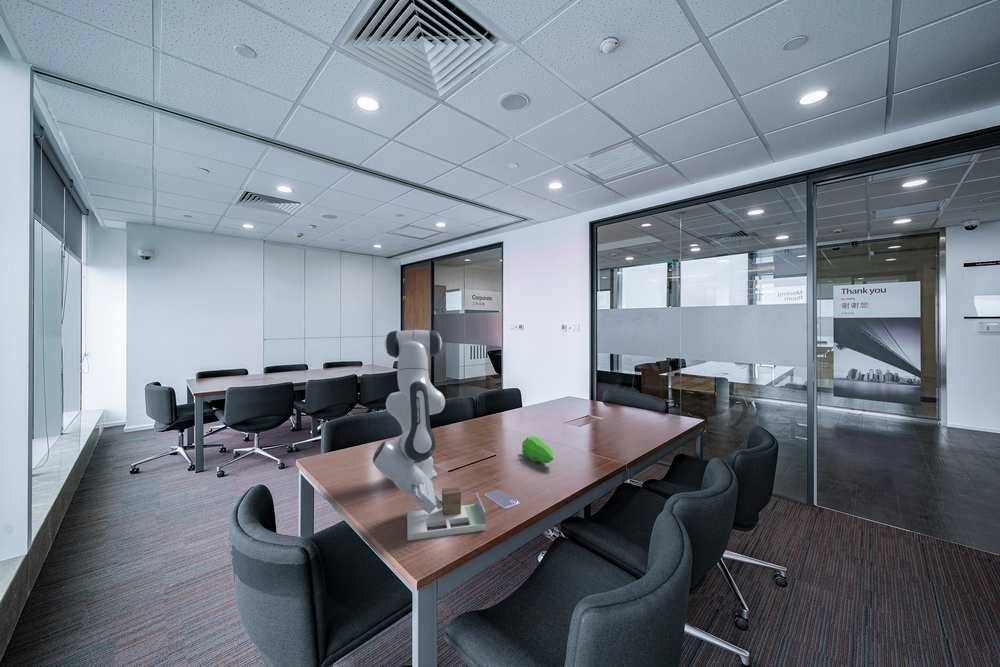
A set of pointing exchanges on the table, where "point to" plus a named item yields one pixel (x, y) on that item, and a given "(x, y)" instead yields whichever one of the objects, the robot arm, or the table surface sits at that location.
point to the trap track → (446, 522)
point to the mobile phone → (502, 498)
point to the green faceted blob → (537, 450)
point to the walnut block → (451, 501)
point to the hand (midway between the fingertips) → (440, 505)
